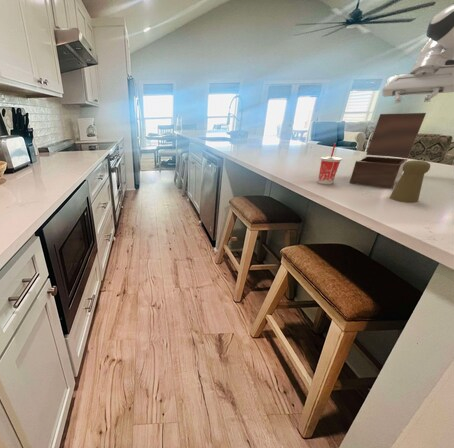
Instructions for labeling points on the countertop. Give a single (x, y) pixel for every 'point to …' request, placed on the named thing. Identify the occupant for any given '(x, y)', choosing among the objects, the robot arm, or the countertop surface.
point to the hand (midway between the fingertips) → (411, 101)
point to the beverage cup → (328, 168)
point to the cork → (410, 181)
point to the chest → (378, 171)
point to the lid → (395, 134)
